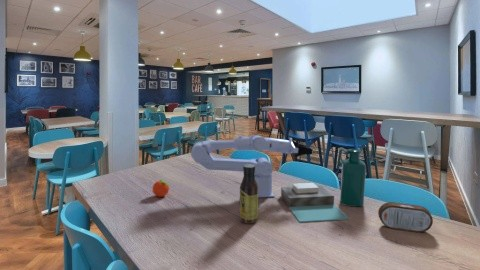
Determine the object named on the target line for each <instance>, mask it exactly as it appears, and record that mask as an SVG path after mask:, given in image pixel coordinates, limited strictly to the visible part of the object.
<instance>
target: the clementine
mask: <svg viewBox="0 0 480 270" xmlns="http://www.w3.org/2000/svg"><path fill="white" fill-rule="evenodd" d="M169 191H170V185H169V183H168V182H167V181H165V180H161V179H160V180H157V181H156V182H155V183H154V184H153V185H152V192H153V194H154V195H155V196H156V197H165V196H166V195H168V194H169Z"/></svg>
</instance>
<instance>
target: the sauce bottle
mask: <svg viewBox="0 0 480 270" xmlns="http://www.w3.org/2000/svg"><path fill="white" fill-rule="evenodd" d="M243 170H244V171H243V177H242V181H241V183H240V186H239V218H240V219H239V220H240V221H241V222H242V223H243V224H254V223H256V222H257V221H258V211H259V197H258V184H257V182H256V180H255V179H254V178H255V165H252V164H246V165H244V166H243Z"/></svg>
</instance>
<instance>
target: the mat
mask: <svg viewBox="0 0 480 270" xmlns="http://www.w3.org/2000/svg"><path fill="white" fill-rule="evenodd" d="M288 208H289V210H290V211H291V213H292V214H293V215H294V217H295V218H296V219H297V221H298V222H299V223H310V222H311V223H312V222H314V223H315V222H329V221H330V222H331V221H347V220H350V217H348V215H346V214H345V213H344V212H342V211H341V209H339V208H338V207H337V206H336V205H335V204H334V205H317V206H298V207H288Z"/></svg>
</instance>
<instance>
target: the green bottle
mask: <svg viewBox="0 0 480 270" xmlns="http://www.w3.org/2000/svg"><path fill="white" fill-rule="evenodd" d="M342 152H344V154H349V155H348V157H349V158H348V159H347V158H346V159H343V157H342ZM362 152H363V151H362V149H358V148H349V149H346V148H344V147H341V146H340V147H339V158H340V162H341V178H340V181H341V182H340V198H339V199H340V201H339V202H340V204H342V205H344V206H350V207H358V208H359V207H360V208H361V207H363V206H364V205H365V204H364V203H365V190H366V176H367V175H366V174H367V166H366V163H365V162H364V161H363V160H361V159H360V153H362Z"/></svg>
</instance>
